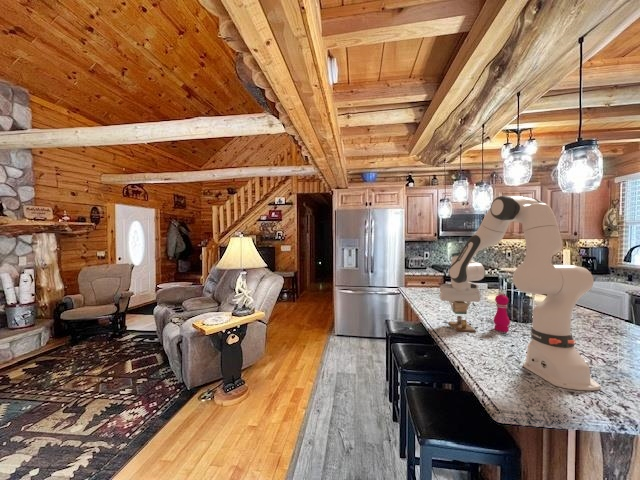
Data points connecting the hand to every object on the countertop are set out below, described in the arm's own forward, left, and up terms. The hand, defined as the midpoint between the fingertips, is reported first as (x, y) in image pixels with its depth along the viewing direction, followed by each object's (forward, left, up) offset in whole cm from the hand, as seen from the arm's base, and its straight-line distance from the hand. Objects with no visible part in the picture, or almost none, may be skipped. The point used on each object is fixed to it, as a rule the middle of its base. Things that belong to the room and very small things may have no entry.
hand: (459, 309), depth 158 cm
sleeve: (0, 0, -2) cm, 2 cm away
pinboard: (-4, 0, -9) cm, 10 cm away
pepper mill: (-5, -19, -9) cm, 22 cm away
